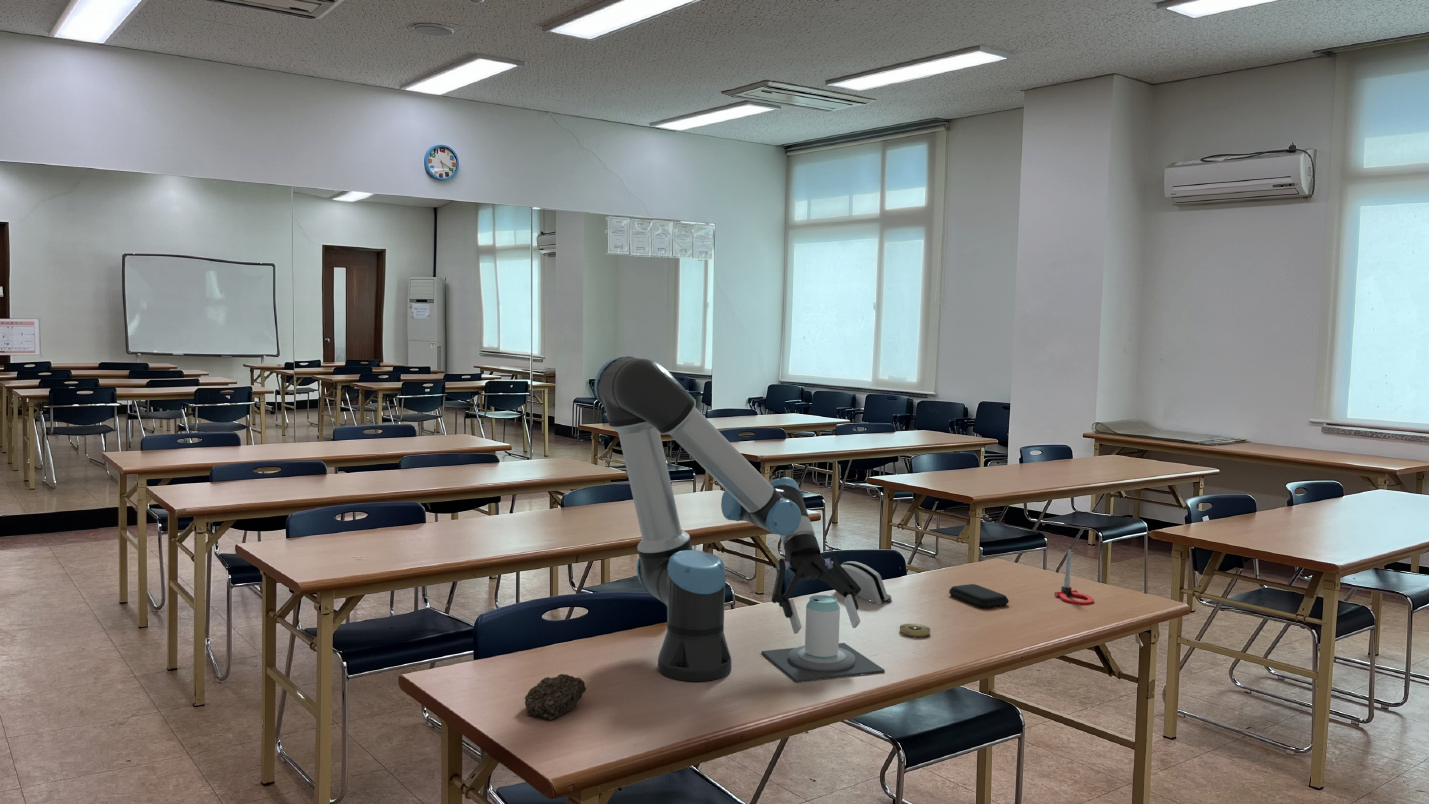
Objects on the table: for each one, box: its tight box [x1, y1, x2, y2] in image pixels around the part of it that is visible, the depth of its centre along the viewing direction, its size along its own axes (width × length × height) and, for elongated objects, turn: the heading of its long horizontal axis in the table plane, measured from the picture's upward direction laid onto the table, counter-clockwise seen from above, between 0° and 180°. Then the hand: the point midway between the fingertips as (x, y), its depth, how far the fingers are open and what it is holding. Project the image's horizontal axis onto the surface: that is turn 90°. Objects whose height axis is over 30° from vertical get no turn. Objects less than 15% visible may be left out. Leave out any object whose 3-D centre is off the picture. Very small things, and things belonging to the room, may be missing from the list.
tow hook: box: [1054, 549, 1095, 606], centre depth 261 cm, size 8×13×9 cm
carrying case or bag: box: [948, 583, 1010, 609], centre depth 259 cm, size 11×3×15 cm
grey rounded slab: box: [840, 560, 893, 605], centre depth 260 cm, size 17×5×10 cm, turn 31°
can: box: [804, 594, 841, 659], centre depth 208 cm, size 7×7×12 cm
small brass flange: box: [899, 623, 931, 639], centre depth 230 cm, size 7×7×1 cm
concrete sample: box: [524, 673, 587, 721], centre depth 181 cm, size 12×10×5 cm
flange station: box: [760, 642, 886, 683], centre depth 208 cm, size 20×18×2 cm
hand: (827, 627), depth 206 cm, fingers open, 13 cm apart
